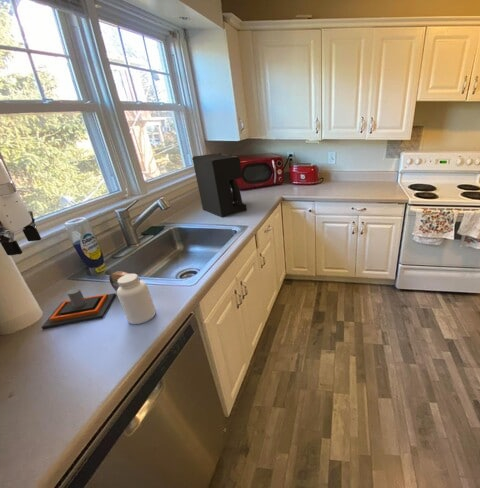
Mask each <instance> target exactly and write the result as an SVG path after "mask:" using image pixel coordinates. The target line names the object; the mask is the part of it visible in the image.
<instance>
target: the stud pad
mask: <svg viewBox="0 0 480 488" xmlns="http://www.w3.org/2000/svg"><path fill="white" fill-rule="evenodd" d="M66 294H67V296H68V298H69V300H71V302H68V303H67V304H66V306H65V307H64V308H63V310H62V311H61V312H60V315H61V316H62V315H68V314H73V313H79V312H84V311H90V310H95V309H96V307H97V305H98V304H99V302H100V301H101V300H100V298H99V297H97V298H91V299H84V298H85V297H84V295H83V293H82V291H81V289H80V288H72V289H70V290H68V291H67V293H66Z"/></svg>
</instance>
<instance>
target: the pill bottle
mask: <svg viewBox="0 0 480 488" xmlns="http://www.w3.org/2000/svg"><path fill="white" fill-rule="evenodd" d="M117 282H118V285H119V286H120V287H119V288H118V290H117V291H116V297H117V298H118V301H119V303H120V305H121V307H122V310H123V312H124V316H125V317H126V320H127V322H128V323H129V324H132V325H140V324H144V323H146V322H148V321H150V320H151V319H153V318H154V316H155V315H156V312H157V311H156V308H155V304H154V302H153V298H152V295H151V293H150V290H149V288H148V285H147V283H146V282H145V280H141V279H140V277H139V275H138V274H136V273H129V274H127V275H124V276H122V277H120V278H119V279H118V281H117Z"/></svg>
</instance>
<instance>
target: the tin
mask: <svg viewBox="0 0 480 488" xmlns="http://www.w3.org/2000/svg"><path fill="white" fill-rule="evenodd" d="M127 274H130V273H129V272H125V271H123V270H117V271H115V272H112V273H110V274H109V275H108V277H109V278H108V279H109V283H110V286H111V287H112V288H113V289H114V291H115V292H117V290H118V288H119V287H120V286H119V285H118V282H117V281H118V279H119V278H120V277H122V276H124V275H127Z"/></svg>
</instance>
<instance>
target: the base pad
mask: <svg viewBox="0 0 480 488" xmlns="http://www.w3.org/2000/svg"><path fill="white" fill-rule="evenodd" d="M97 297H99V298H100V300H101V301H100V302H99V304H98V305H97V307H96V309H95V310H90V311H84V312H79V313H73V314H68V315H62V316H61V315H60V312H61V311H62V310H63V308H64V307H65V306H66V304H67V303H68V302H71V300H70V299H69V300H64V301H62V302H61V303H60V304H59V305H57V308H56V309H55V310H54V311H53V312H52V313H51V314H50V316H49V317H48V318H47V319H46V320H45V322H44V323H43V324H42V326H41V329H42V330H46V329H52V328H58V327H62V326H68V325H73V324H78V323H84V322H88V321H94V320H99V319H103V318H104V317H105V315H106V314H107V312H108V310H109V309H110V307H111V305H112V303H113V302H114V300H115V298H116V297H117V293H116V292H114V293H104V294H100V295H99V294H98V295H94V296H93V295H92V296H86V297H84V299H91V298H97Z"/></svg>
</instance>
